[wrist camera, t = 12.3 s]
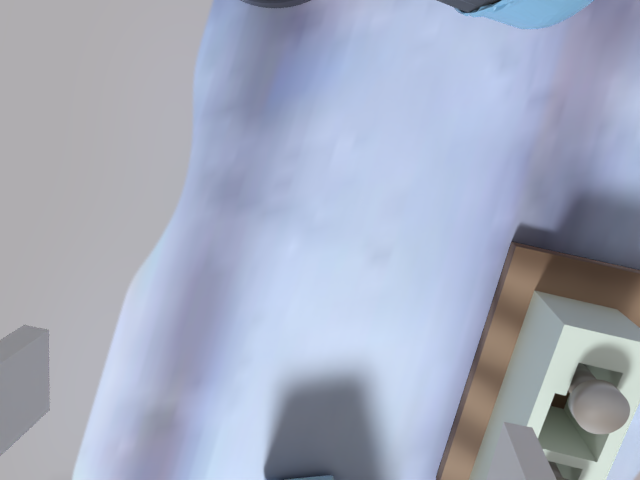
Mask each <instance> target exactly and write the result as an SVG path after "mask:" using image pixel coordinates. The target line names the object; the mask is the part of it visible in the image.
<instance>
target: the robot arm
mask: <svg viewBox="0 0 640 480" xmlns="http://www.w3.org/2000/svg"><path fill="white" fill-rule="evenodd" d="M241 1H243V2H245V3H248V4H251V5H255V6H259V7H266V8H284V7H291V6H296V5H299V4H302V3H305V2H308V1H310V0H241ZM437 1H439V2H442V3H444V4H447V5H450V6H452V7H454V8H455V9H456V10H457V11H458V12H459V13H461V14H463V15H465V16H468V15H470V16H472V17H486V18H489V19H492V20H495V21H498V22H501V23H504V24H507V25H510V26H513V27H517V28H520V29H539V28H546V27H550V26H552V25H555V24H557V23H560V22H562V21H564V20H566V19H568V18H569V17H571V16H573V15H574V14H576V13H578V12H579V11H580V10H582V9H583V8H585V7H586V6H587V5H589V4H590V3H591V2H593V1H594V0H437ZM49 407H50V402H49V330H47V329H42V328H36V327H32V326H27V325H23V326H22V327H20V328H18V329H17V330H15V331H14V332H12V333H11V334H9V335H7V336H6V337H4V338H3V339H1V340H0V456H1V455H2V454H3V453H4V452H5V451H6V450H7V449H9V448H10V447H11V446H12V445H13V444H14V443H15V442H16V441H17V440H18V439H19V438H20V437H21V436H22V435H24V434H25V433H26V432H27V431H28V430H29V429H30V428H31V427H32V426H33V425H34V424H35V423H36V422H38V421H39V420H40V419H41V417H43V416H44V415H45V414H46V413H47V412H48V411H49V410H50V408H49ZM486 480H557V479H556V477H555V475H554V473H553V471H552V469H551V467H550V464H549V462H548V460H547V458H546V456H545V454H544V451H543V449H542V447H541V445H540V443H539V441H538V438H537V436H536V434H535V432H534V430H533V428H532V427H527V426H522V425H517V424H513V423H508V422H504V423H503V426H502V430H501V433H500V436H499V439H498V443H497V446H496V449H495V453H494V456H493V459H492V462H491V466H490V469H489V472H488V475H487V479H486Z"/></svg>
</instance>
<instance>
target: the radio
mask: <svg viewBox="0 0 640 480" xmlns="http://www.w3.org/2000/svg"><path fill="white" fill-rule="evenodd" d="M286 480H334V478H333V476H332V475H327V476H317V477H306V478H296V479H286Z"/></svg>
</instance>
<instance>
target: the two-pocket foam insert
mask: <svg viewBox="0 0 640 480" xmlns="http://www.w3.org/2000/svg"><path fill="white" fill-rule="evenodd" d="M578 363H582V364H584V365H585V366H586V367H587V368H588V369H589V371H590V372H591V373H592V374H593V375H594V377H595V378H596V379H598V380H605V381H608V382H610V383H612V384H613V385H614V386H616V387H617V389H618V390H619V391H620V392H621V393H622V394H623V395H624V397H625V398H626V399H627V401H628V403H629V406H630V415H629V418H628V420H627V421H626V423H625V424H624V425H623V426H622V427H621V428H620V429H618V430H616V431H614V432H612V433H608V434H593V433H590V432H588V431H586V430H584V429H583V428H582V427H581V426H580V425H579V424H578V423H577V421H576V420H575V418H574V416H573V415H572V413H571V412H570V409H569V405H568V401H569V397H570V394H569V397H568V400H567V402H566V405H565V407H564V409H561V408H557V407H553V406H550V405H551V402H552V400H553V397H554V395H555V393H556V394H561V395H565V396H566V394H567V391H568V389H569V386H570V384H571V381H572V379H573V376H574V373H575V371H576V368H577V366H578ZM639 403H640V328H639V327H638V326H637V325H636V324H634V323H633V322H632V321H631V320H629V319H628V318H627V317H626V316H625V315H623V314H622V313H621V312H620V311H618V310H617V309H613V308H609V307H605V306H600V305H596V304H591V303H587V302H583V301H578V300H574V299H570V298H565V297H561V296H556V295H552V294H548V293H543V292H539V291H535V290H534V293H533V296H532V298H531V301H530V304H529V307H528V310H527V313H526V316H525V319H524V322H523V324H522V327H521V330H520V333H519V336H518V339H517V342H516V345H515V348H514V350H513V353H512V356H511V359H510V362H509V365H508V368H507V371H506V374H505V377H504V379H503V382H502V385H501V388H500V391H499V394H498V397H497V400H496V403H495V405H494V408H493V411H492V414H491V417H490V420H489V423H488V426H487V429H486V431H485V434H484V437H483V440H482V443H481V446H480V449H479V452H478V455H477V457H476V460H475V463H474V466H473V469H472V472H471V475H470V478H469V480H486V479H487V475H488V472H489V469H490V466H491V462H492V459H493V456H494V453H495V449H496V446H497V443H498V439H499V436H500V433H501V430H502V426H503V423H504V422H508V423H513V424H517V425H522V426H527V427H532V428H533V430H534V432H535V434H536V436H537V438H538V441H539V443H540V445H541V447H542V449H543V451H544V454H545V456H546V458H547V460H548V461H551V462H555V463H556V465H557V467H558V469H559V471H560V473H561V475H562V477H563V478H566V479H568V480H606V478H607V476H608V473H609V471H610V469H611V467H612V464H613V462H614V460H615V457H616V455H617V453H618V451H619V448H620V446H621V444H622V441H623V439H624V437H625V435H626V432H627V430H628V428H629V425H630V423H631V421H632V419H633V416H634V414H635V412H636V409H637V407H638V405H639Z"/></svg>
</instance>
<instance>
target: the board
mask: <svg viewBox="0 0 640 480" xmlns="http://www.w3.org/2000/svg"><path fill="white" fill-rule="evenodd" d="M534 290H535V291H539V292H543V293H548V294H552V295H556V296H561V297H565V298H570V299H574V300H578V301H583V302H587V303H591V304H596V305H600V306H605V307H609V308H613V309H617V310H618V311H620V312H621V313H622V314H623V315H625V316H626V317H627V318H628V319H629V320H631V321H632V322H633V323H634V324H636V325H637V326H638V327H639V328H640V270H637V269H632V268H628V267H623V266H619V265H614V264H610V263H605V262H601V261H596V260H592V259H587V258H583V257H578V256H574V255H569V254H565V253H560V252H556V251H551V250H547V249H542V248H538V247H533V246H528V245H524V244H519V243H515V242H511V245H510V248H509V251H508V254H507V257H506V260H505V264H504V267H503V270H502V273H501V276H500V279H499V282H498V285H497V288H496V292H495V295H494V298H493V301H492V304H491V307H490V310H489V313H488V317H487V320H486V323H485V326H484V329H483V332H482V335H481V338H480V342H479V345H478V348H477V351H476V354H475V357H474V360H473V363H472V366H471V370H470V373H469V376H468V379H467V382H466V385H465V388H464V391H463V395H462V398H461V401H460V404H459V407H458V410H457V413H456V416H455V420H454V423H453V426H452V429H451V432H450V435H449V438H448V441H447V444H446V448H445V451H444V454H443V457H442V460H441V463H440V466H439V469H438V473H437V476H436V480H469V478H470V475H471V472H472V469H473V466H474V463H475V460H476V457H477V455H478V452H479V449H480V446H481V443H482V440H483V437H484V434H485V431H486V429H487V426H488V423H489V420H490V417H491V414H492V411H493V408H494V405H495V403H496V400H497V397H498V394H499V391H500V388H501V385H502V382H503V379H504V377H505V374H506V371H507V368H508V365H509V362H510V359H511V356H512V353H513V350H514V348H515V345H516V342H517V339H518V336H519V333H520V330H521V327H522V324H523V322H524V319H525V316H526V313H527V310H528V307H529V304H530V301H531V298H532V296H533V293H534ZM569 394H570V397H569ZM568 397H569V401H568V405H569V409H570V412H571V413H572V415H573V416H574V418H575V420H576V421H577V423H578V424H579V425H580V426H581V427H582V428H583V429H584V430H586V431H588V432H590V433H593V434H608V433H612V432H614V431H616V430H618V429H620V428H621V427H622V426H623V425H624V424H625V423H626V421H627V420H628V418H629V415H630V406H629V403H628V401H627V399H626V398H625V397H624V395H623V394H622V393H621V392H620V391H619V390H618V389H617V387H616V386H614V385H613V384H612V383H610V382H608V381H605V380H598V379H596V378H595V377H594V375H593V374H592V373H591V372H590V371H589V369H588V368H587V367H586V366H585V365H584V364H582V363H578V366H577V368H576V371H575V373H574V376H573V379H572V381H571V384H570V386H569V389H568V391H567V394H566V396H565V395H561V394H556V393H555V395H554V397H553V400H552V402H551V405H550V406H553V407H557V408H561V409H564V407H565V405H566V402H567V400H568ZM548 462H549V464H550V467H551V469H552V471H553V473H554V475H555V477H556V479H557V480H568V479H566V478H563V477H562V475H561V473H560V471H559V469H558V467H557V465H556V463H555V462H551V461H548Z"/></svg>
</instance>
